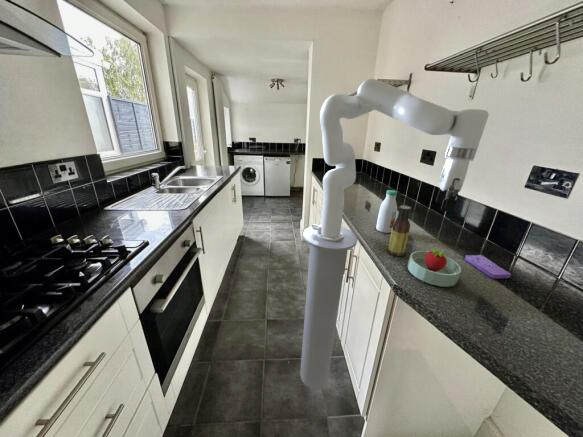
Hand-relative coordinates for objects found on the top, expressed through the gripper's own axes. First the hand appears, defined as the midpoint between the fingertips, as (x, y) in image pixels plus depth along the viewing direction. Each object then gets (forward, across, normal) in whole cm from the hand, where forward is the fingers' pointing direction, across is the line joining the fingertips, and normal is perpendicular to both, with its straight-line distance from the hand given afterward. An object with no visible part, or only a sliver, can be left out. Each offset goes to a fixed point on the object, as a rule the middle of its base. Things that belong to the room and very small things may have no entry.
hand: (443, 206), depth 77 cm
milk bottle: (+24, -28, -15) cm, 39 cm away
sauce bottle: (+24, -5, -10) cm, 26 cm away
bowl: (+23, +5, +1) cm, 24 cm away
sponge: (+23, -8, +21) cm, 32 cm away
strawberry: (+23, +5, +1) cm, 24 cm away
